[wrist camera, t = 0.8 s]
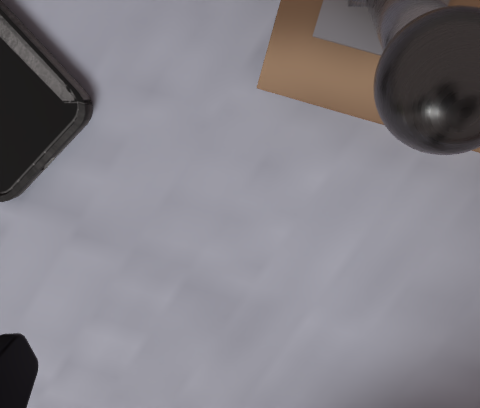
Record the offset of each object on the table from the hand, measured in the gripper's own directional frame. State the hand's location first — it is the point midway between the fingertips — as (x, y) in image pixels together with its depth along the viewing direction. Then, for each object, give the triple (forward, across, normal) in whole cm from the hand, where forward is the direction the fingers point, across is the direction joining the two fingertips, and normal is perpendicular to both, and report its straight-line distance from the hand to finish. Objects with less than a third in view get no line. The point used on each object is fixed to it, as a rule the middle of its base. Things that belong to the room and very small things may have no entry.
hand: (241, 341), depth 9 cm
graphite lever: (+12, -5, -4) cm, 14 cm away
